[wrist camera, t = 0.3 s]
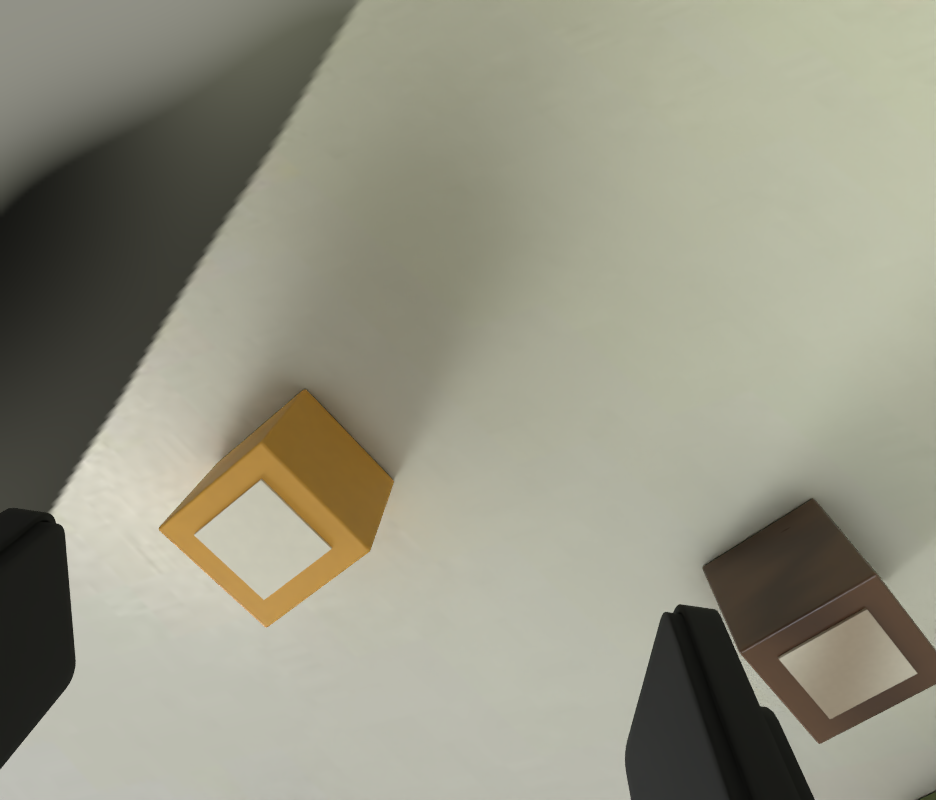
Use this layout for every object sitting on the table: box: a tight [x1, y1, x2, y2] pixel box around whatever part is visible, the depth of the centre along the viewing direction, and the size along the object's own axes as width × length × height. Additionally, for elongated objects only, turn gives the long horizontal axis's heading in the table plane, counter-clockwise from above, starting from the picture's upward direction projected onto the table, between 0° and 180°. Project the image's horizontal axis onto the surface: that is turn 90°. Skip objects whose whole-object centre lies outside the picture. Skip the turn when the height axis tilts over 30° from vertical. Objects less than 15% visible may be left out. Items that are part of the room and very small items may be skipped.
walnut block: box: [703, 499, 936, 744], centre depth 26 cm, size 5×5×5 cm
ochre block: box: [159, 389, 394, 627], centre depth 25 cm, size 5×5×5 cm
